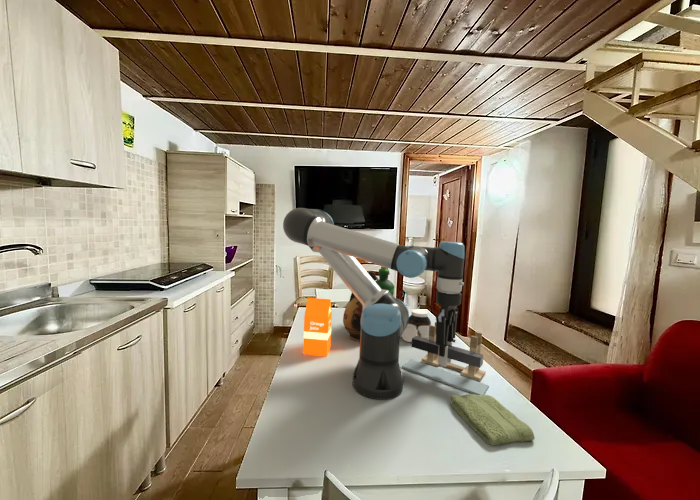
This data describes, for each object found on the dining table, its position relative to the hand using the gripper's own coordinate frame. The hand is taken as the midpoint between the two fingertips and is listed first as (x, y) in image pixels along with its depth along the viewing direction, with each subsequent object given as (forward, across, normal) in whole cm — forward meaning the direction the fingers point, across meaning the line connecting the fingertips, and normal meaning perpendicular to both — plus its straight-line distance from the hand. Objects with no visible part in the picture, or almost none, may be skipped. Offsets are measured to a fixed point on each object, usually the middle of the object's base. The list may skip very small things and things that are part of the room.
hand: (444, 363), depth 97 cm
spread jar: (+5, +24, +21) cm, 32 cm away
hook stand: (+5, +8, 0) cm, 10 cm away
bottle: (+5, +30, +42) cm, 52 cm away
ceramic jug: (+5, +8, +40) cm, 41 cm away
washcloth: (+5, -13, -17) cm, 22 cm away
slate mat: (+5, 0, 0) cm, 5 cm away
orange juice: (+5, -14, +43) cm, 45 cm away
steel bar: (-3, 0, 0) cm, 3 cm away
